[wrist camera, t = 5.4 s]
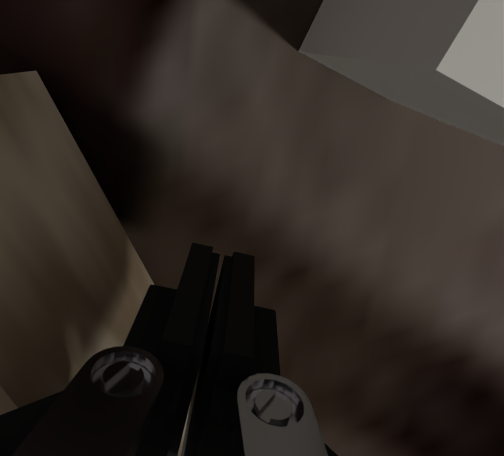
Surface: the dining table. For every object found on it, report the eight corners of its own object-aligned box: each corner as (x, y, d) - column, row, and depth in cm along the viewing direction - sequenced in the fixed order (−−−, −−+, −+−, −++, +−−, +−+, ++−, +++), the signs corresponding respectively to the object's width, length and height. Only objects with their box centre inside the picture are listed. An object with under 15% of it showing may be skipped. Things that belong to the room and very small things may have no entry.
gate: (209, 385, 16) (179, 611, 10) (154, 402, 16) (89, 630, 10) (36, 70, 12) (-226, 100, 5) (-34, 102, 12) (-358, 165, 6)
